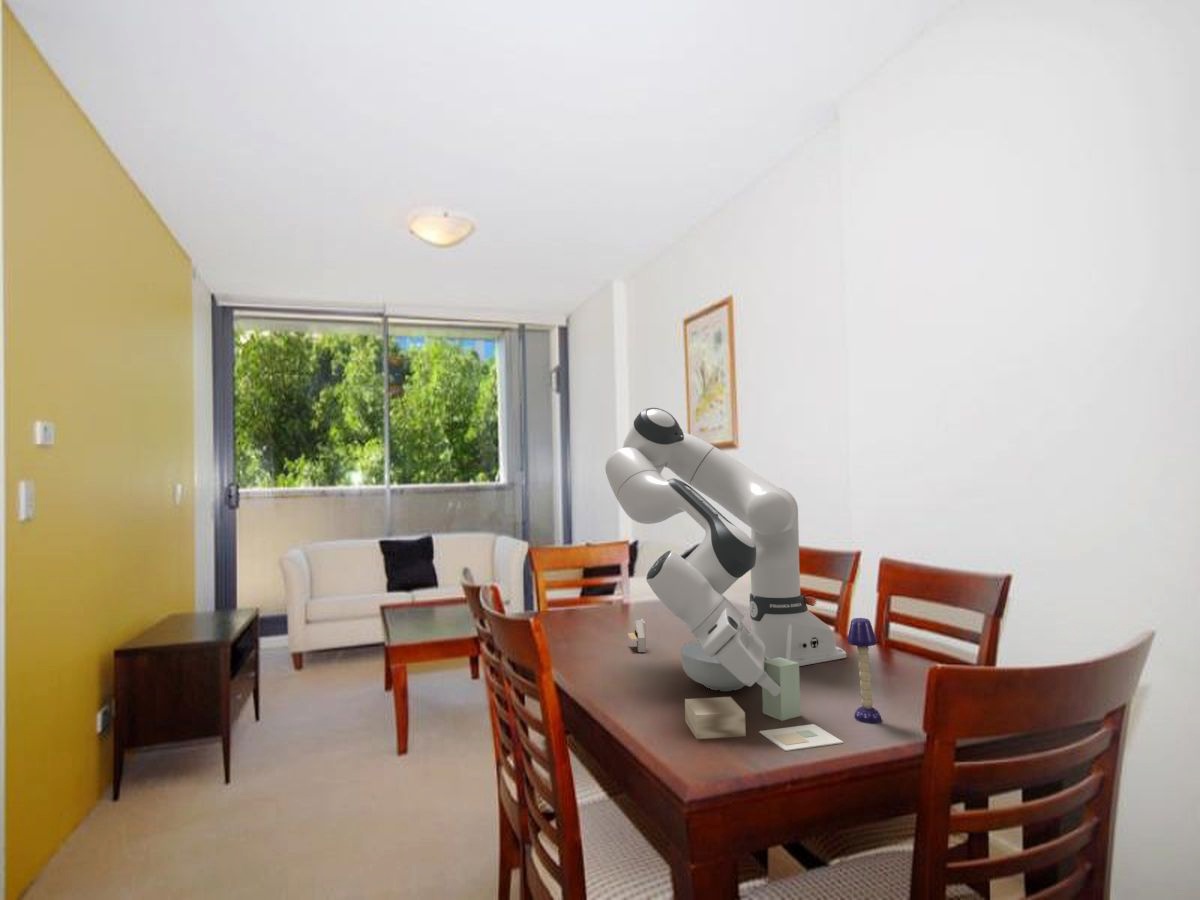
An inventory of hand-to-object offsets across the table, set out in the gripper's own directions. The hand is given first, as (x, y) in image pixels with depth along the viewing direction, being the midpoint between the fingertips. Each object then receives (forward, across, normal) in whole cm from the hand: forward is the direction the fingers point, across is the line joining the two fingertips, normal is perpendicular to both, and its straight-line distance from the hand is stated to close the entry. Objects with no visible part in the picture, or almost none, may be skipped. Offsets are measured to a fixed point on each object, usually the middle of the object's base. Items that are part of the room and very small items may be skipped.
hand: (778, 685), depth 117 cm
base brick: (-4, +9, -11) cm, 15 cm away
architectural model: (-19, -40, -27) cm, 52 cm away
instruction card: (+6, +10, -1) cm, 12 cm away
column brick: (+4, 0, -3) cm, 5 cm away
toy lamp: (+14, 0, +6) cm, 15 cm away
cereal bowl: (-4, -15, -11) cm, 19 cm away
